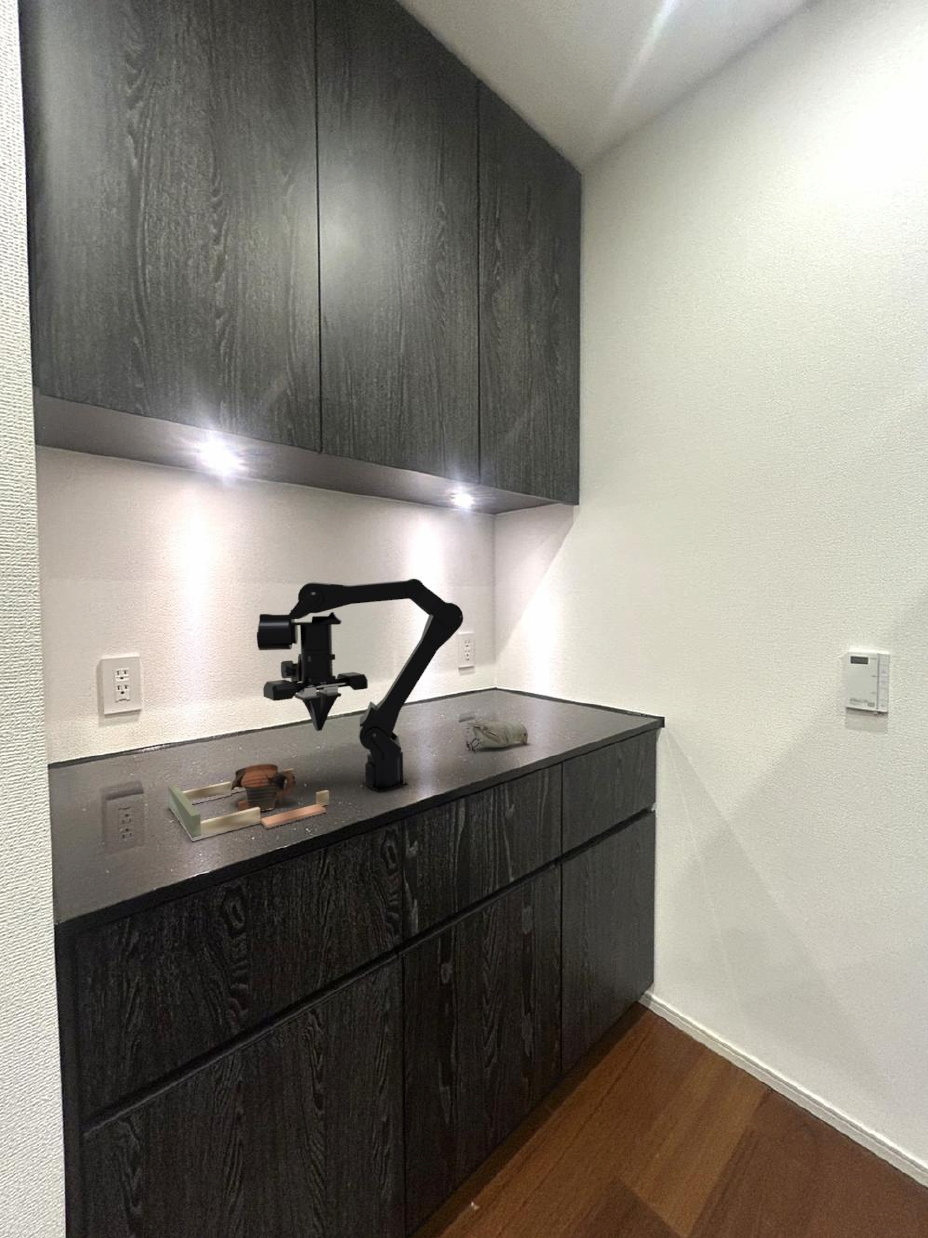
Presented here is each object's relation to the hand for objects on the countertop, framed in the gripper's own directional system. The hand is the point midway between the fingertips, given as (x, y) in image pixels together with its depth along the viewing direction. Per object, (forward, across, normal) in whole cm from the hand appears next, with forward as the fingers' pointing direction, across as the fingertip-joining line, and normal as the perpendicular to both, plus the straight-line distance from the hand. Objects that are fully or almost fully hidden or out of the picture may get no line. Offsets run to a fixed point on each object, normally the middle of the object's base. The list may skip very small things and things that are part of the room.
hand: (318, 730), depth 104 cm
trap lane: (+11, +13, 0) cm, 17 cm away
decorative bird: (+12, -45, +2) cm, 46 cm away
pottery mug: (+12, +11, 0) cm, 16 cm away
